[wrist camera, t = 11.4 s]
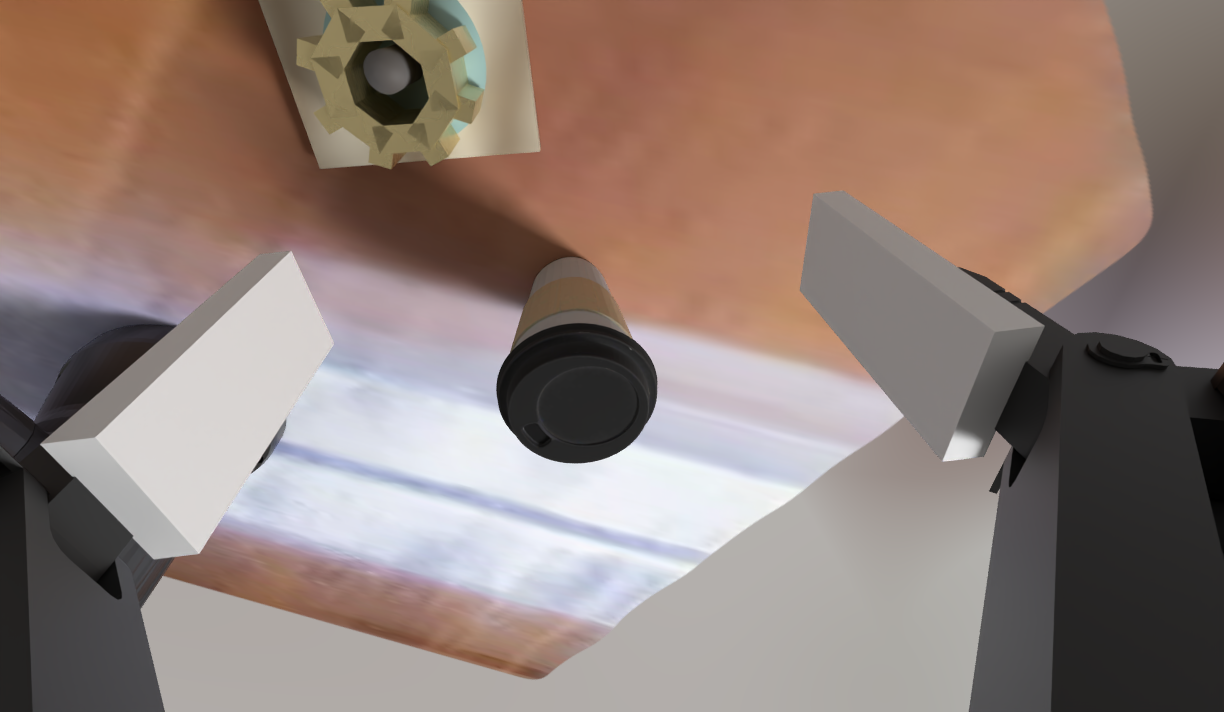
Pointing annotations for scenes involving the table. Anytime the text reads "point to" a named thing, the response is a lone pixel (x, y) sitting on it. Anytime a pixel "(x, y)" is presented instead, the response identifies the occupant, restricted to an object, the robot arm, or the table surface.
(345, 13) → the gear
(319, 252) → the table surface
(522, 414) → the coffee cup
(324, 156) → the gear board
